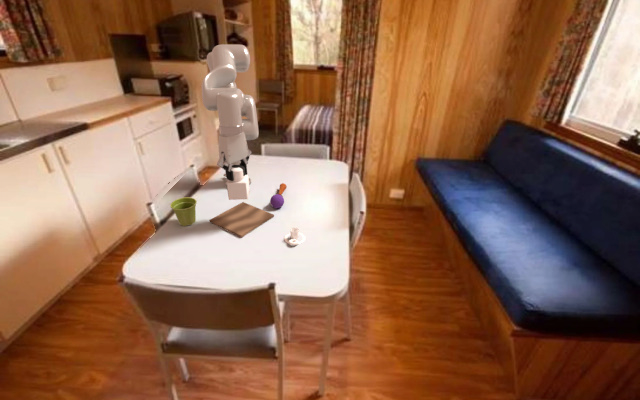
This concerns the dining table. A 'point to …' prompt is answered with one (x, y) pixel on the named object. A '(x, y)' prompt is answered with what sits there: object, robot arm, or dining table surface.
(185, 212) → the plant pot
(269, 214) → the walnut board
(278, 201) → the purple maraca
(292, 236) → the white rounded piece
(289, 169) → the dining table surface
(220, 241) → the dining table surface
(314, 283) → the dining table surface
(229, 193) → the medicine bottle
